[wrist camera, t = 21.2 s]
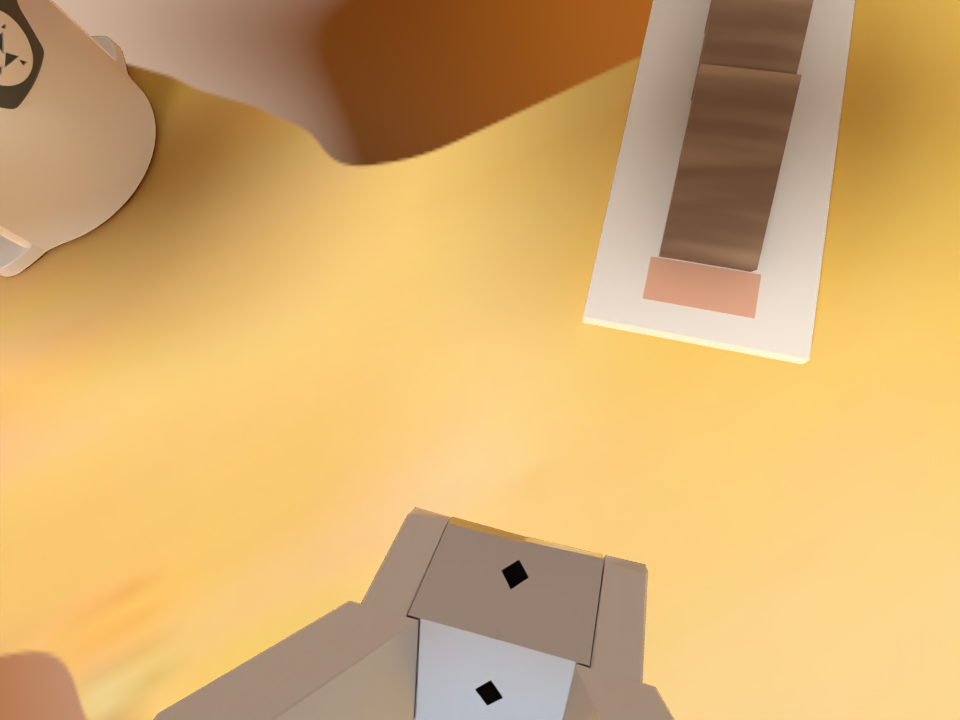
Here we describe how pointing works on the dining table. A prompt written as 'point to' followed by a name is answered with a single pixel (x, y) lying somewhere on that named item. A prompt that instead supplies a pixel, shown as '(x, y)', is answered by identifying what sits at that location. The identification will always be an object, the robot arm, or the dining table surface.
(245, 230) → the dining table surface
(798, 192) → the board
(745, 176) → the domino
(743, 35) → the domino
